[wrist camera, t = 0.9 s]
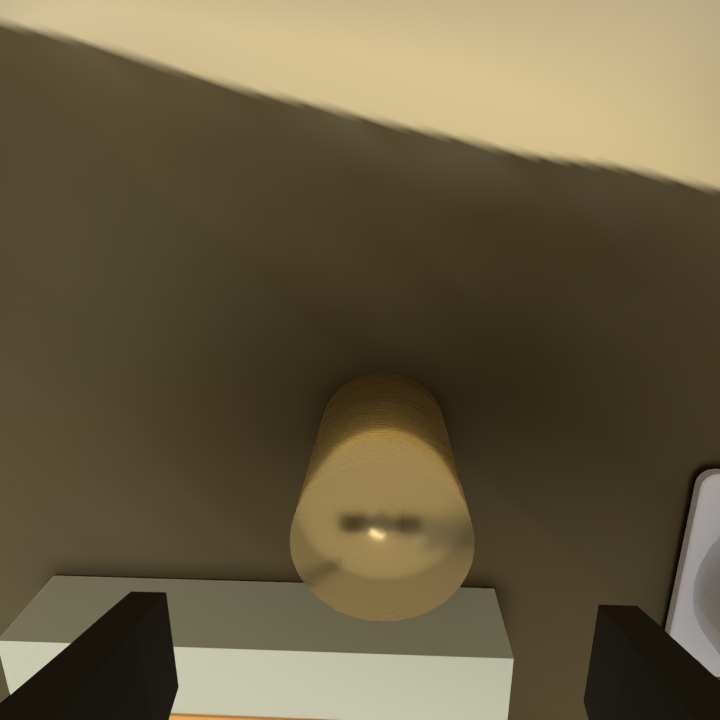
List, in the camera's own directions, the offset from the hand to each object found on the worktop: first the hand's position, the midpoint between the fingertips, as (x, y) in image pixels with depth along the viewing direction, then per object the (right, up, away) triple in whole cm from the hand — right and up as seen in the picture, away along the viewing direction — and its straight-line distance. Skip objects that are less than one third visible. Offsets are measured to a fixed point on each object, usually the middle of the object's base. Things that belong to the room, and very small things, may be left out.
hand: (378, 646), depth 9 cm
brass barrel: (0, +3, +8) cm, 9 cm away
